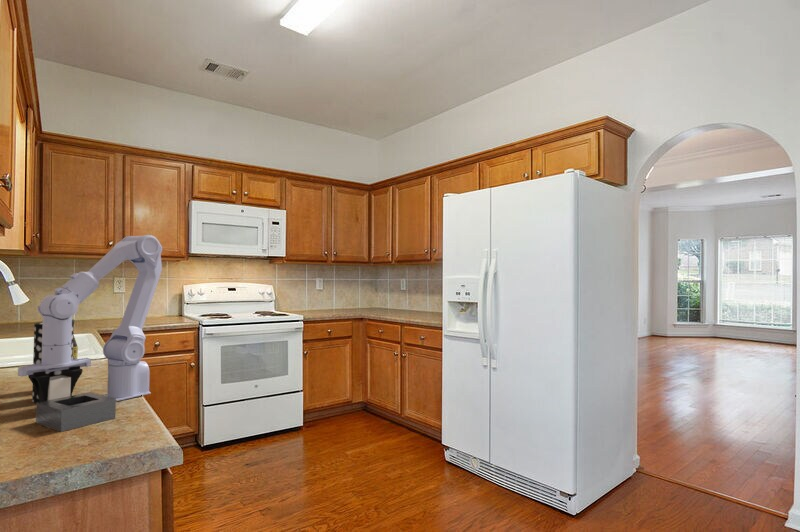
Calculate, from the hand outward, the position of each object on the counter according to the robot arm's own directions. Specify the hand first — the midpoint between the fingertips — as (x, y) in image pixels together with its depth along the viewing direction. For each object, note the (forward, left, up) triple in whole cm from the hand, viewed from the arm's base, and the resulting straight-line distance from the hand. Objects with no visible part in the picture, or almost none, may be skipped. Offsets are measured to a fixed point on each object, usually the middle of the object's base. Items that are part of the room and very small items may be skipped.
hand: (55, 401), depth 111 cm
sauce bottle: (-12, -23, -3) cm, 26 cm away
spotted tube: (-5, -13, -3) cm, 14 cm away
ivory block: (0, 0, -2) cm, 2 cm away
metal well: (+1, +12, -2) cm, 12 cm away
